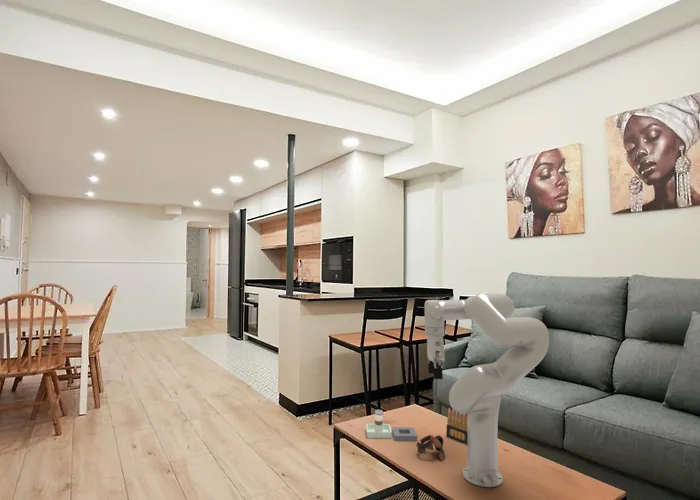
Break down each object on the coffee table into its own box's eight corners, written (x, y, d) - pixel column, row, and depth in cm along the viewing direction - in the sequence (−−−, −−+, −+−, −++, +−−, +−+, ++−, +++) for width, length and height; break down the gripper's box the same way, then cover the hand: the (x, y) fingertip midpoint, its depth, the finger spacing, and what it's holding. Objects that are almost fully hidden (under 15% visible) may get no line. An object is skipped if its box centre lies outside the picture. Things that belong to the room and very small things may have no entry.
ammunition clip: (471, 444, 161) (471, 413, 162) (468, 445, 160) (468, 414, 160) (448, 435, 169) (448, 406, 170) (446, 436, 168) (446, 407, 169)
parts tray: (391, 438, 165) (391, 432, 165) (367, 438, 165) (367, 432, 165) (389, 430, 174) (389, 424, 174) (366, 429, 174) (366, 423, 174)
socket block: (417, 441, 163) (417, 436, 163) (394, 440, 163) (394, 435, 163) (413, 432, 172) (413, 427, 172) (392, 431, 172) (392, 427, 172)
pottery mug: (440, 466, 143) (428, 444, 144) (420, 470, 149) (409, 449, 150) (454, 447, 152) (443, 426, 153) (435, 451, 158) (424, 431, 159)
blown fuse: (382, 434, 168) (383, 412, 168) (374, 434, 168) (375, 412, 168) (382, 431, 171) (382, 409, 172) (374, 431, 171) (374, 409, 172)
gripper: (449, 334, 151) (450, 381, 150) (438, 329, 168) (439, 371, 167) (429, 334, 151) (430, 381, 150) (420, 329, 168) (421, 371, 167)
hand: (435, 376), depth 158 cm, fingers open, 9 cm apart
